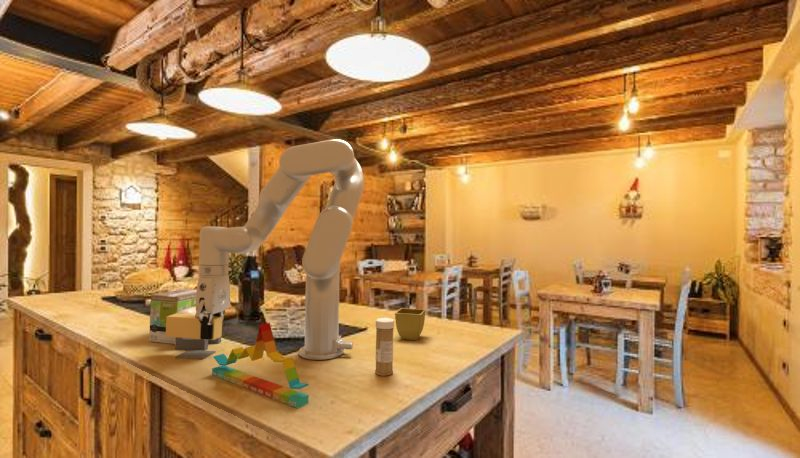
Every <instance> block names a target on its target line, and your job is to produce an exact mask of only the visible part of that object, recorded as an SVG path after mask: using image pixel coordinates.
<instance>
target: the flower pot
mask: <svg viewBox="0 0 800 458" xmlns="http://www.w3.org/2000/svg"><path fill="white" fill-rule="evenodd" d="M394 317H395V318H394V319H395V326H396V331H397V333H398V335H399V337H400V338H401V340H413V341H417V340H418V339H419V338H420V336H421V334H422V332H423V330H424V326H425V319H426V318H425V317H426V309H423V308H407V307H401V308H399V309H397V310H396V312H394Z"/></svg>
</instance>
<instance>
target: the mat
mask: <svg viewBox="0 0 800 458" xmlns="http://www.w3.org/2000/svg"><path fill="white" fill-rule="evenodd" d="M215 353H216V350H185V351H183V352H181V353H180V354H177V355H175V359H189V360H190V359H191V360H192V359H194V360H196V359H197V360H204V359H206V358H208V357H210V356H212V355H214V354H215Z"/></svg>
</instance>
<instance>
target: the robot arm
mask: <svg viewBox="0 0 800 458" xmlns="http://www.w3.org/2000/svg"><path fill="white" fill-rule="evenodd" d="M278 160H279V161H278V162H279V167H278V168H277V170H276V171H275V172H274V174H273V175H272V176H271V177H270V179H269V180H268V181H267V183H266V184H265V185H264V186H263V187H262V189H260V190H261V191H260V193H259V197H258V204H257V206H256V208H255V210H254V212H253V214H252V215H251V216H250V218H248V220H247V221H246V223H245V224H244V225H243V226H235V227H234V226H232V227H225V226H215V225H212V226H210V225H209V226H208V225H207V226H203V227H201V228H200V230H199V231H200V232H199V246H198V247H199V251H198V280H197V286H196V289H197V292H196V314H195V317H196V318H197V319H198V320H199V321H200V325H201V332H200V338H201V339H208V340H211V339H212V338H213V324H211V323H212V316H218V317H222V323H223V321H224V316H225V312H226V310H228V309H229V308H230V306H231V284H230V275H229V265H230V264H229V263H230V254H236V255H243V254H248V253H252V252H255V251H256V250H258V249H259V248H260V247H261V246H262V245H263V244H264V242H265V241H266V240H267V238H268V237H269V235H271V233H272V232H273V231H274V229H275V228H276V226H277V225H278V223H279V221H280V220H281V218H282V217H283V215H285V213H286V211H287V209H288V207H290V205H291V204H292V202H293V201H294V199H296V197H297V196H298V195H299V193H300V191H302V189H303V188H304V187H305V186H306V184H307V183H308V182H309V180H310V179H311V178H312V176H315V175H321V174H326V173H327V174H328V173H331V174H332V175H333V176H334V184H333V187H332V190H331V192H330V196H329V198H328V202H327V204H326V206H325V208H324V209H323V210H321V212H320V213H318V214H319V215H318V216H317V218H316V220H315V223H314V225H313V228H312V231H311V234H310V236H309V238H308V241H307V244H306V248H305V249H304V252H303V256H302V258H301V259H302V260H301V262H302V269H303V271H304V273H305V291H304V292H305V296H304V297H305V299H304V300H305V304H304V308H305V309H304V311H305V312H304V346H302V347H300V348H299V350H298V355H299V357H300V358H303V359H306V360H312V361H313V360H314V361H316V360H317V361H321V360H324V361H325V360H330V359H335V358H338V357H340V356H342V355H344V352H345V351H344V350H353V348H354V343H353V342H351V340H343V339H342V335H339V331H340V330H339V328H340V327H339V326H340V325H339V324H340V323H339V322H340V321H339V318H340V317H339V316H340V315H339V314H340V280H341V279H340V275H341V273H340V272H341V260H342V257H343V254H344V251H345V250H346V249H345V248H346V246H347V243H348V241H349V237H350V235H351V233H352V230H353V223H354V219H355V216H356V214H357V210H358V208H359V204H360V201H361V199H362V195H363V192H364V187H365V177H364V172H363V169H362V166H361V165H360V163H359V161H358V160H357V159H356V158H355V153H354V149H353V148H352V146H351V145H350V144H349V143H348V142H347V141H345V140H342V139H337V138H336V139H327V140H322V141H316V142H311V143H310V142H309V143H305V144H299V145H294V146H290V147H288V148H286V149H285V150H284V151H283V152H282V153H281V154H280V157H279V159H278ZM206 311H207V313H205V312H206ZM205 315H208V318H207V317H206V316H205Z"/></svg>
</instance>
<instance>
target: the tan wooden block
mask: <svg viewBox="0 0 800 458" xmlns="http://www.w3.org/2000/svg"><path fill="white" fill-rule="evenodd" d="M206 317H207V318H208V316H206ZM222 321H223V320H222V317H218V316H212V323H211V324H213V338H212V339H211V340H215V339H217V338H219V337H221V338H222V335H223V322H222ZM200 332H201V325H200V321H199V320H198V319H197V318H196V317H195V315H190V314H173V315H170V316H167V317H166V337H179V338H192V339H201V338H200ZM205 340H208V339H205Z"/></svg>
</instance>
